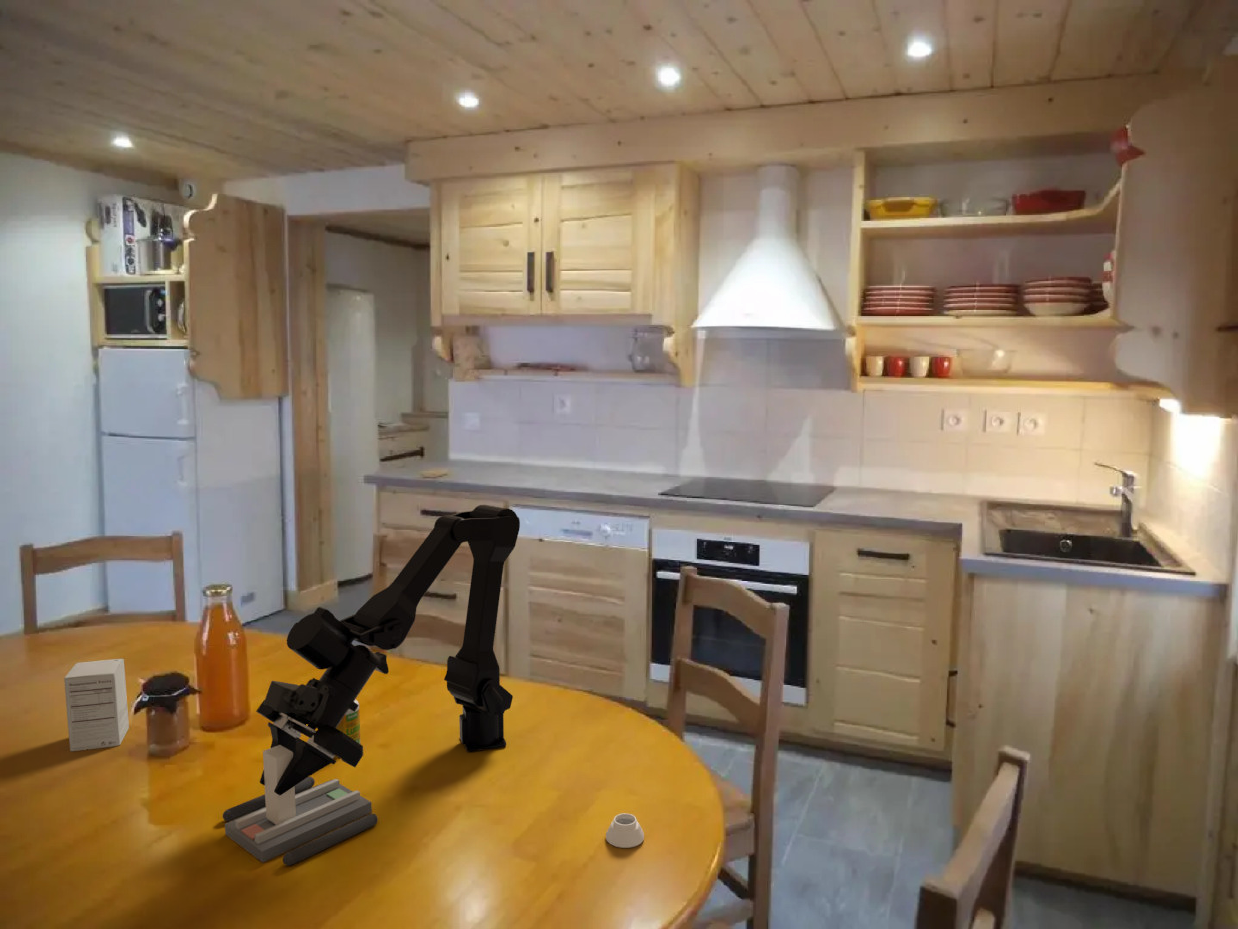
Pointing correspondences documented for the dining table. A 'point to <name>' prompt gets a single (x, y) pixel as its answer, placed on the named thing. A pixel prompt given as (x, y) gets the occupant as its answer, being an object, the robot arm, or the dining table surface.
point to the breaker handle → (274, 767)
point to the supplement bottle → (351, 724)
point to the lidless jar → (625, 831)
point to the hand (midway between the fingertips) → (269, 789)
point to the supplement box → (96, 704)
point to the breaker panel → (299, 820)
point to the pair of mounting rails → (314, 845)
